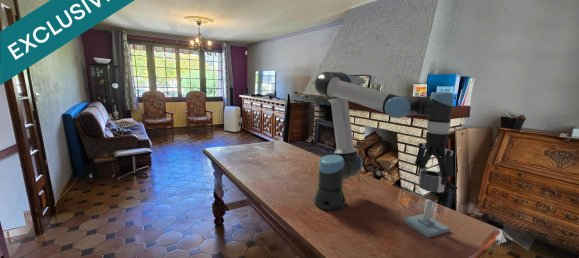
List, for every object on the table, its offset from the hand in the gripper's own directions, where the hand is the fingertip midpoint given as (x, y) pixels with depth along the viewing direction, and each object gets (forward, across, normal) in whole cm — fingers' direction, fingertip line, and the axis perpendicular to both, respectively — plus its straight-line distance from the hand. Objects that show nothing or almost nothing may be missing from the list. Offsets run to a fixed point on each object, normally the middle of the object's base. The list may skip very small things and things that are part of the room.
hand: (430, 187), depth 100 cm
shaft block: (+17, 0, 0) cm, 17 cm away
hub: (0, 0, 0) cm, 0 cm away
